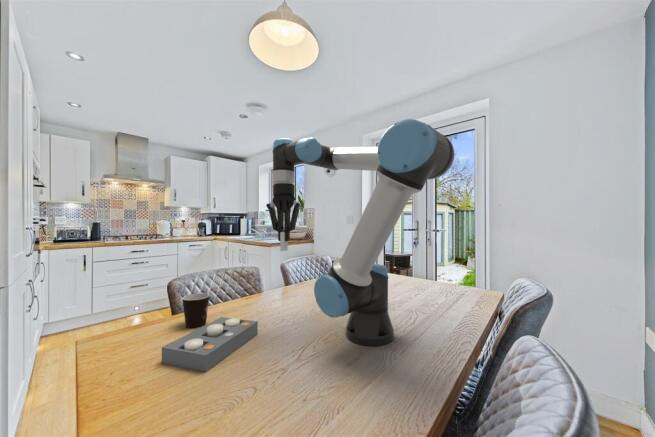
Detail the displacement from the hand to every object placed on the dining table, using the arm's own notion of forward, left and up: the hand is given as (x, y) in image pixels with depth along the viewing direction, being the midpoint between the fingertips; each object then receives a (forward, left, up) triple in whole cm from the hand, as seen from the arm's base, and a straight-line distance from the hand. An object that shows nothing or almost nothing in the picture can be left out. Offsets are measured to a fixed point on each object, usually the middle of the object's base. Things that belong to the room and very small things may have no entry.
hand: (284, 250), depth 94 cm
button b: (+12, +21, -23) cm, 33 cm away
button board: (+12, +21, -26) cm, 35 cm away
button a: (+12, +13, -24) cm, 29 cm away
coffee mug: (+30, +8, -27) cm, 41 cm away
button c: (+12, +29, -24) cm, 39 cm away
